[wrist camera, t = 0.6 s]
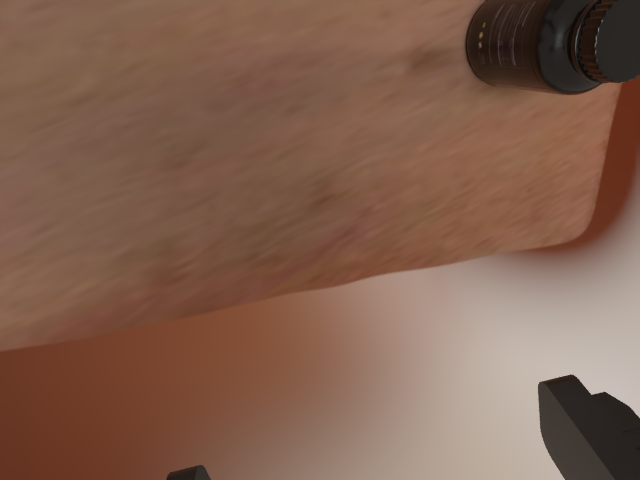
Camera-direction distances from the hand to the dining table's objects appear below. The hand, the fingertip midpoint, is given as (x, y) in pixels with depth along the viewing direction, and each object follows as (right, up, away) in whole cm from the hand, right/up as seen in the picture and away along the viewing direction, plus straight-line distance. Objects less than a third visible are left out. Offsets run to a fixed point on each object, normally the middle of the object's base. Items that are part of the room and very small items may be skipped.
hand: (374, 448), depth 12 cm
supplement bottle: (+13, +20, +27) cm, 36 cm away
